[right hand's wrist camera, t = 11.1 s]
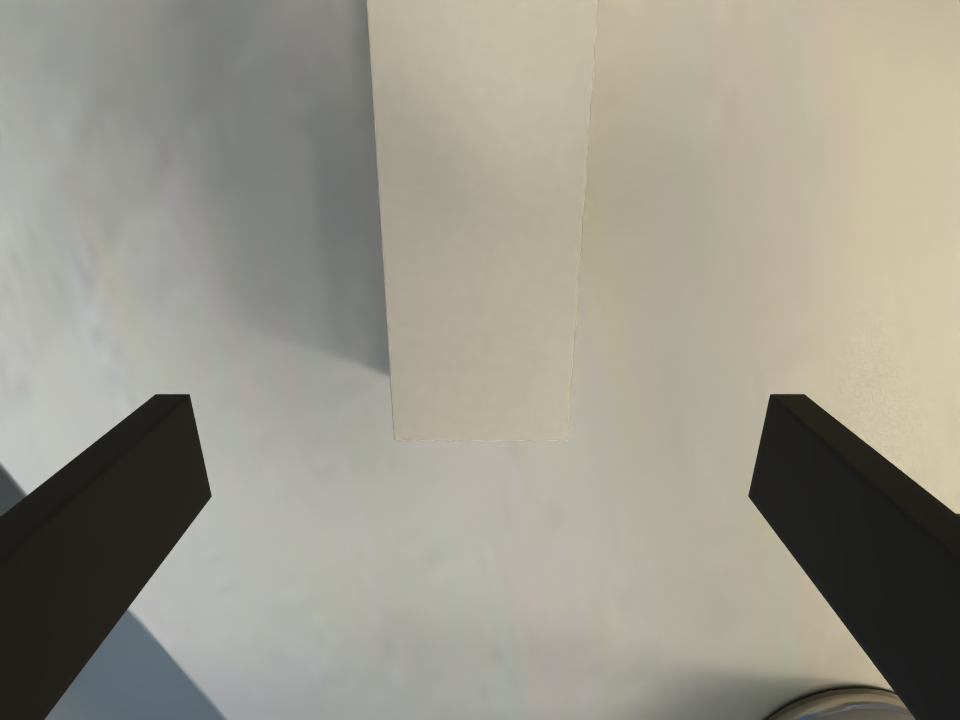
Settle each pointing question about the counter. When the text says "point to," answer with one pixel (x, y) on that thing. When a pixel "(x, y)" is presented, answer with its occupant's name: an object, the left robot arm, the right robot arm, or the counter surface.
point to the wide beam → (481, 209)
